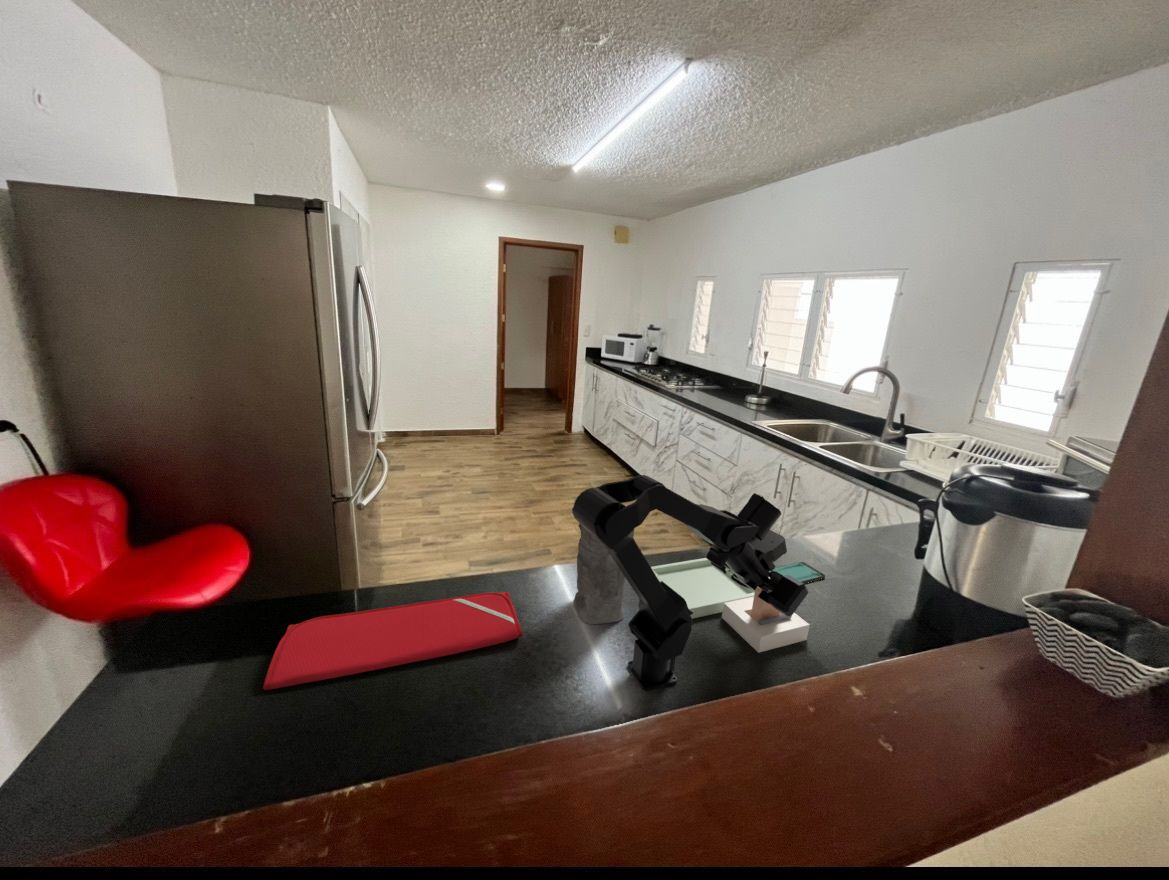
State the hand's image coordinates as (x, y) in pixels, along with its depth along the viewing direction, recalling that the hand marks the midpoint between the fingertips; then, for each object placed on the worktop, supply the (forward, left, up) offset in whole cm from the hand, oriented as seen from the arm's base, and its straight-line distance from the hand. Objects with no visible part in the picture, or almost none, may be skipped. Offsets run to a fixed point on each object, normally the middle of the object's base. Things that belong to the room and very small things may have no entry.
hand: (771, 594), depth 92 cm
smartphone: (+21, +14, -8) cm, 26 cm away
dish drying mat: (-69, +18, -8) cm, 71 cm away
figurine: (-31, +16, -8) cm, 36 cm away
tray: (-5, +15, -7) cm, 18 cm away
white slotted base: (-1, 0, -7) cm, 8 cm away
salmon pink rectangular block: (-1, 0, -7) cm, 7 cm away
